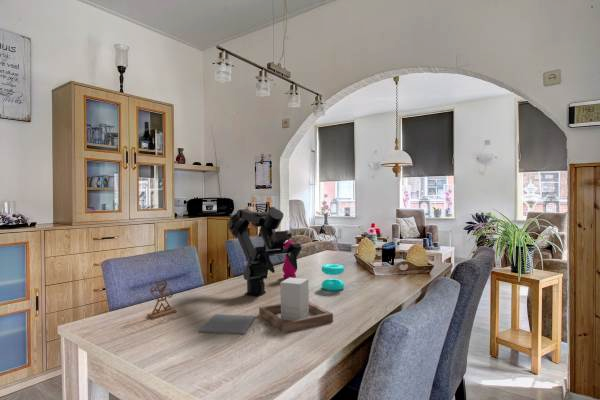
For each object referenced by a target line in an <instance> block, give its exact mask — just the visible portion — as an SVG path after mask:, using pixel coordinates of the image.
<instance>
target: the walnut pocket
mask: <svg viewBox="0 0 600 400" xmlns="http://www.w3.org/2000/svg"><path fill="white" fill-rule="evenodd" d="M258 308H259V311H258V315H259V316H260V317H261V318H263V319H265V320H266V321H267V322H269V323H270V324H271V325H273V326H274V327H275V328H276V329H278V330H279V331H280V332H281V333H283V334H284V333H288V332H293V331H297V330H301V329H305V328H308V327H309V328H310V327H315V326H318V325H323V324H327V323H332V322H334V314H333V312H330V311H328V310H327V309H324V308H323V307H320V306H318V305H316V304H315V303H313V302H311V301H309V313H311V314H313V315H311V316H310V315H309V316H308V317H306V318H301V319H296V320H292V321H286V320H282V319H281V317H279V316H278V315H276V314H279V313H281V303H277V304H271V305H265V306H261V307H260V306H259V307H258Z"/></svg>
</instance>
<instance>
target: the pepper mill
mask: <svg viewBox="0 0 600 400" xmlns="http://www.w3.org/2000/svg"><path fill="white" fill-rule="evenodd" d="M293 243H295V242H294V241H293V240H292V237H291V238H290V239H288V240H287V241H285V246H283V248H288V247H289V245H290V244H293ZM284 255H285V259H284V262H283V265H282V268H281V269H282V273H283V277H282V278H283V279H284V280H286V279H288V278H297V275H296V272H297V271H298V269H297V270H295V269H294V268H293V266H292V265H291V263H290V262H289V260H288V258H289V257H287V255H286V254H284Z"/></svg>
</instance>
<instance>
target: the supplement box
mask: <svg viewBox="0 0 600 400" xmlns="http://www.w3.org/2000/svg"><path fill="white" fill-rule="evenodd" d="M279 283H280V304H281V312H280V318H281V319H282V320H284V321H285V322H287V321H292V320H296V319H301V318H306V317H310V311H309V302H310V300H309V298H310V295H309V293H310V292H309V290H310V289H309V278H300V277H299V278H297V277H296V278H288V279H284V280H282V281H281V282H279Z"/></svg>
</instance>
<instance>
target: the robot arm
mask: <svg viewBox="0 0 600 400" xmlns="http://www.w3.org/2000/svg"><path fill="white" fill-rule="evenodd" d="M283 218H284V213H283V212H282V211H281V210H279V209H277V208H276V207H275V206H270V207H269V210H268V211H267V212H266V211H265V212H257V211H252V210H250V209H247V208H245V209H244V208H243V209H237V211H236V213H234V215H232V216H230V218H229V221H228V223H227V227H228V230H229V232H230V233H231V234H232V235H233V236H234V237H236V239H237V240H238V243H239V245H240V247H241V249H242V252H243V254H244V256H245V260H246V265H245V269H244V272H243V279H244V280H245V281H246V291H247V292H245V293H244V295H247V296H254V297H259V296H261V295H264V294H266V292H267V291H266V290H265V289H266V288H265V287H266V286H265V281H264V279H265V280H266V279H268V272H269V271H270V272H271V273H272V274H274V273H275V272H276V271H275V268H274V265H273V262H272V260H271V258H270V256H278V255H279V256H280V255H285V254H286V255H287V257H289V258H288V260H289V262H290V263H291V265H292V266H293V268H294V269H295V270H297V271H298V260H297V259H298V257H299V254H300V253H301V250H302V248H303V247H302V245H301V244H300V243H299V242H294V243H293V244H290V245H289V247H288V248H284V247H283V246H285V242H287V241H288V239H290V238H291V239H292V237H293V236H292V235H293V234H292V232H291V231H290V229H285V230H278V231H276V230H277V229H278V228H279V226H280V224H281V222H282V220H283ZM250 223H251V225H252V226H253V227H255V228H259V232H258V237H261V238H262V240H263V245H262V246H261V245H260V246H255V247H254V244H253V242H252V239H251V237H250V236H249V234H248V229H249V225H250Z"/></svg>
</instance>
